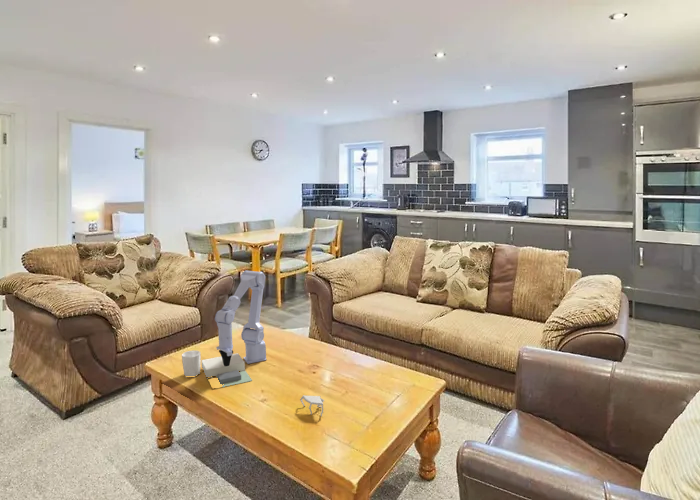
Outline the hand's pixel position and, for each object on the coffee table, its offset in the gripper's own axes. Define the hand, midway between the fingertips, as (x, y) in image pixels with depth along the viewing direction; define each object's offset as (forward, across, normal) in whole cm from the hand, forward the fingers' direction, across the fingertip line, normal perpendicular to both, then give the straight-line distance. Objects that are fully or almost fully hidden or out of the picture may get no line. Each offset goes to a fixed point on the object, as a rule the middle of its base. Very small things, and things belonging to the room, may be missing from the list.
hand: (226, 365), depth 187 cm
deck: (+5, -8, 0) cm, 9 cm away
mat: (+5, +5, 0) cm, 7 cm away
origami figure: (+5, +45, +22) cm, 50 cm away
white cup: (+5, -9, -14) cm, 17 cm away
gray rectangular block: (+3, +4, 0) cm, 5 cm away
